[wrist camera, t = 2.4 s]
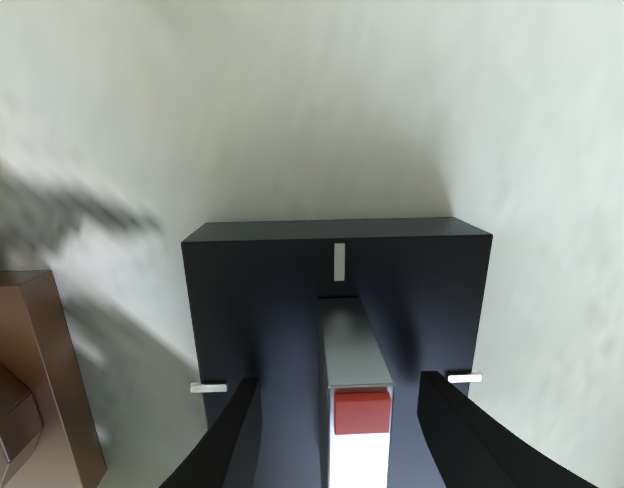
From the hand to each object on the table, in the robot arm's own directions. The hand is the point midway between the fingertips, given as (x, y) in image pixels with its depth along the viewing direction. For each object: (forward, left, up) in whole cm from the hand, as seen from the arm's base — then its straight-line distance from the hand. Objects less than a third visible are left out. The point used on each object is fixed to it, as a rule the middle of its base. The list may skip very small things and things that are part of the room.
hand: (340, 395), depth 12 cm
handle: (0, 0, -1) cm, 1 cm away
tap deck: (-1, 0, -4) cm, 4 cm away
